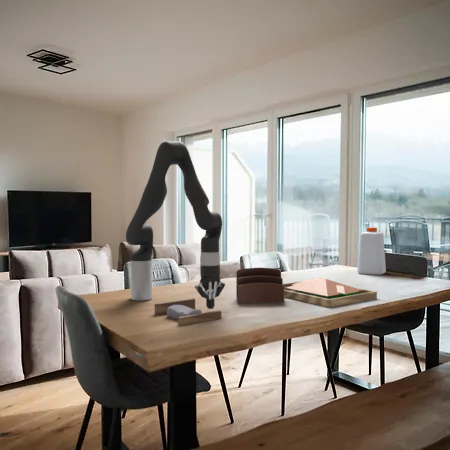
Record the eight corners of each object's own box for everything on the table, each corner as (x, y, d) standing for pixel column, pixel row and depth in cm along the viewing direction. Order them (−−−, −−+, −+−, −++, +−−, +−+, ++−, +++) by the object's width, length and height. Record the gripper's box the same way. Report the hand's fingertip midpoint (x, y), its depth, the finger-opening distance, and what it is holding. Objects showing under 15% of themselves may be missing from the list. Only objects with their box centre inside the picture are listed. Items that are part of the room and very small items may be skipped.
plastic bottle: (381, 275, 261) (381, 228, 260) (355, 273, 269) (355, 227, 268) (387, 272, 274) (387, 227, 273) (362, 270, 282) (362, 227, 281)
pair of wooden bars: (154, 314, 168) (154, 303, 168) (193, 308, 177) (193, 298, 177) (180, 325, 151) (180, 313, 151) (221, 318, 161) (221, 307, 161)
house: (332, 305, 184) (332, 285, 184) (278, 293, 211) (278, 276, 211) (367, 298, 197) (367, 280, 197) (312, 288, 224) (312, 272, 224)
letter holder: (236, 299, 196) (236, 267, 195) (281, 298, 196) (281, 267, 196) (237, 304, 186) (237, 270, 185) (284, 303, 186) (284, 270, 186)
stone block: (184, 317, 171) (163, 316, 164) (186, 304, 171) (166, 303, 164) (204, 323, 162) (184, 323, 155) (207, 310, 163) (186, 309, 156)
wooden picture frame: (265, 292, 210) (265, 286, 210) (310, 285, 228) (310, 280, 228) (329, 307, 177) (329, 299, 177) (376, 298, 195) (376, 291, 195)
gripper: (218, 261, 177) (219, 304, 177) (190, 264, 169) (190, 309, 170) (229, 263, 170) (230, 308, 171) (200, 266, 163) (200, 312, 163)
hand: (210, 308), depth 170 cm, fingers closed
